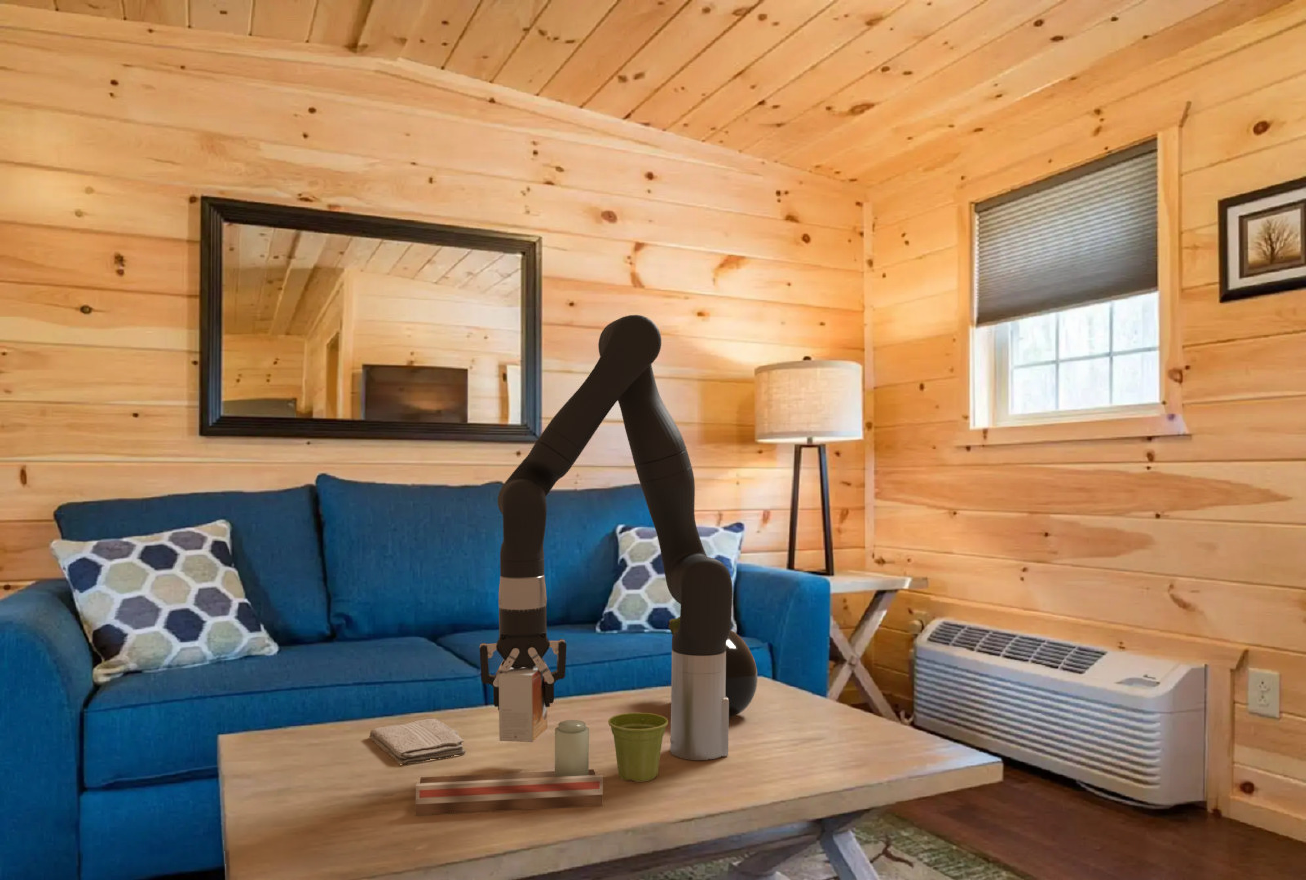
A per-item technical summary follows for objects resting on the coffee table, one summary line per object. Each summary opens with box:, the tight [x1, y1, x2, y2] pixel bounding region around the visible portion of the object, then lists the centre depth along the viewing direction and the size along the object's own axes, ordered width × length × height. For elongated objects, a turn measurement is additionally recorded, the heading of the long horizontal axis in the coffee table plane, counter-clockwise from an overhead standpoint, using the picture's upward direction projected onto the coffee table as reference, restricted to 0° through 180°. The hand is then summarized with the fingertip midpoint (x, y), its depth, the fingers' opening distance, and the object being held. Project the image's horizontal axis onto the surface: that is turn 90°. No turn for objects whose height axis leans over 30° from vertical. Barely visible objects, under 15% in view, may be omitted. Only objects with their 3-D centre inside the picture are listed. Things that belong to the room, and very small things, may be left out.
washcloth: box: [369, 718, 466, 765], centre depth 159 cm, size 12×18×3 cm, turn 34°
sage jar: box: [554, 719, 590, 777], centre depth 137 cm, size 5×5×9 cm
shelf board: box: [414, 768, 604, 816], centre depth 136 cm, size 26×11×4 cm, turn 100°
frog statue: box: [667, 616, 758, 718], centre depth 186 cm, size 19×16×25 cm
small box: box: [498, 666, 548, 743], centre depth 148 cm, size 8×6×10 cm
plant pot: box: [607, 712, 669, 783], centre depth 145 cm, size 9×9×9 cm
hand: (523, 707), depth 148 cm, fingers closed on small box, 7 cm apart
